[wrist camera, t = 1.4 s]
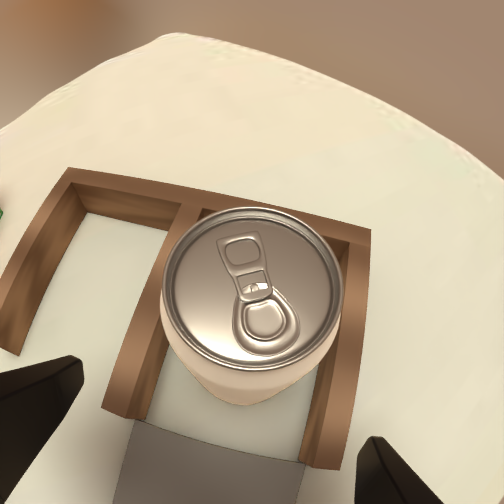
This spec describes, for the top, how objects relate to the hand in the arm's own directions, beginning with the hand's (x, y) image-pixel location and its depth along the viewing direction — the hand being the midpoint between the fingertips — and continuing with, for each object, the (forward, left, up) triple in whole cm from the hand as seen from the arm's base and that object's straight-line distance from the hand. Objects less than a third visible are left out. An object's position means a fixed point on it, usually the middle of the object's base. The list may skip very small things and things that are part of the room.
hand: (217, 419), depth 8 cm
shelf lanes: (+8, +1, -11) cm, 14 cm away
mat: (-5, +4, -11) cm, 13 cm away
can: (+3, -3, -11) cm, 12 cm away
